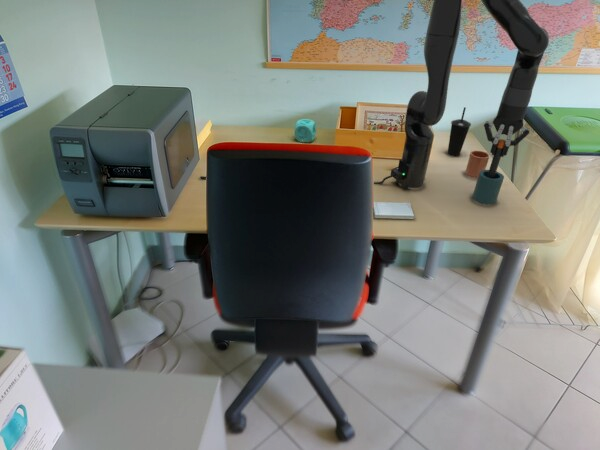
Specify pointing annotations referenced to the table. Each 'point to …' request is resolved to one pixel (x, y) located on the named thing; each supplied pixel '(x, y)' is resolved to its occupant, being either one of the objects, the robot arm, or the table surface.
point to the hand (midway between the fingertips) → (497, 154)
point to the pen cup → (476, 163)
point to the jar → (487, 187)
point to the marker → (496, 158)
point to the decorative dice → (305, 130)
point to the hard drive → (393, 210)
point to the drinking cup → (458, 135)
